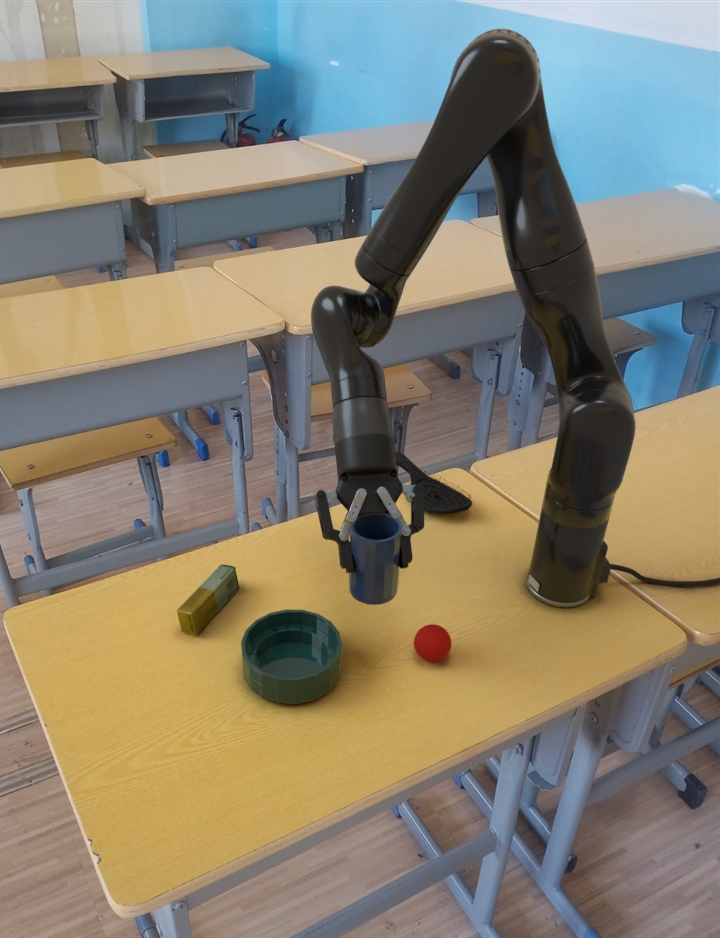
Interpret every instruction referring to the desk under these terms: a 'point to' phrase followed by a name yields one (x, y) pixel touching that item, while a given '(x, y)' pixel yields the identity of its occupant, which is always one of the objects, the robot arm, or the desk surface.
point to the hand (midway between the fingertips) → (377, 569)
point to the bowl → (291, 656)
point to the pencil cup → (375, 558)
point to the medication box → (208, 599)
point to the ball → (432, 643)
